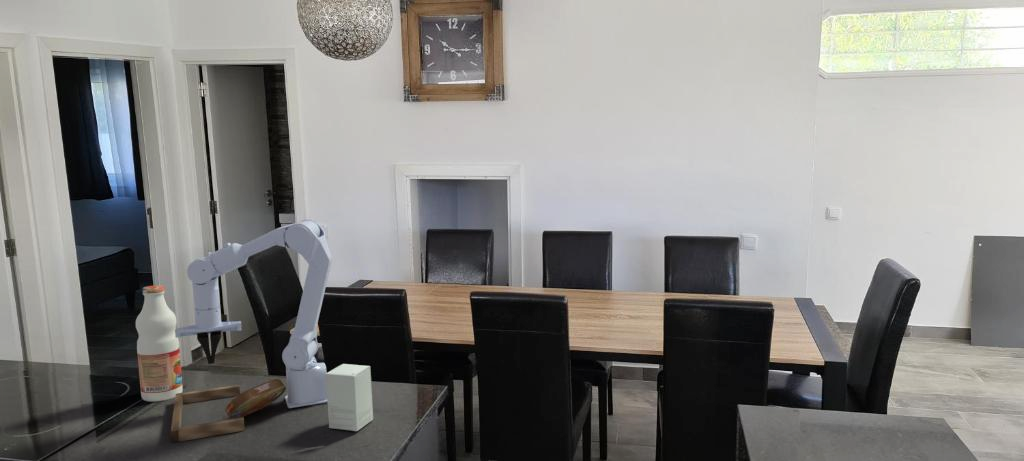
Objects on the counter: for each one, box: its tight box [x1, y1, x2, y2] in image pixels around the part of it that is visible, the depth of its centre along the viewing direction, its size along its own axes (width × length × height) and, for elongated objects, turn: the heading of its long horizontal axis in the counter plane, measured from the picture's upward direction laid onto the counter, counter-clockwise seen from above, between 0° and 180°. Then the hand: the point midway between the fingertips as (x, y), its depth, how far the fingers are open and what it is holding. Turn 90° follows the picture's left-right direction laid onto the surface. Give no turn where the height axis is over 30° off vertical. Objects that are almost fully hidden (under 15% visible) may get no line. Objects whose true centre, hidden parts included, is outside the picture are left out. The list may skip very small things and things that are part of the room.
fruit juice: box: [135, 284, 184, 402], centre depth 174 cm, size 9×9×28 cm
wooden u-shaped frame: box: [170, 384, 246, 444], centre depth 162 cm, size 14×25×2 cm, turn 23°
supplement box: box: [326, 363, 374, 432], centre depth 155 cm, size 7×7×13 cm
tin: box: [224, 378, 287, 419], centre depth 162 cm, size 15×3×8 cm
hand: (211, 362), depth 169 cm, fingers closed
